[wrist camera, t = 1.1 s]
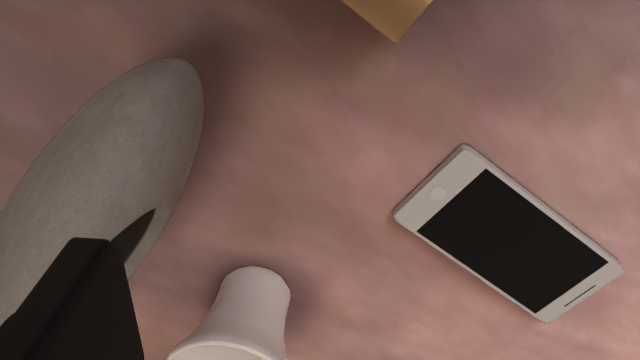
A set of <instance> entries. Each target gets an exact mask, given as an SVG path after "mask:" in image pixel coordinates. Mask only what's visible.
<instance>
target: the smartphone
mask: <svg viewBox="0 0 640 360" xmlns="http://www.w3.org/2000/svg"><path fill="white" fill-rule="evenodd" d="M394 218H395V220H396V221H397V222H398V223H399V224H401V225H402V226H404V227H405V228H407V229H408V230H410V231H411V232H413V233H414V234H415V235H417V236H418V237H420V238H421V239H423V240H424V241H426V242H427V243H428V244H430V245H431V246H433V247H434V248H436V249H437V250H439V251H440V252H441V253H443V254H444V255H446V256H447V257H449V258H450V259H452V260H453V261H455V262H456V263H457V264H459V265H460V266H462V267H463V268H465V269H466V270H468V271H469V272H470V273H472V274H473V275H475V276H476V277H478V278H479V279H481V280H482V281H484V282H485V283H486V284H488V285H489V286H491V287H492V288H494V289H495V290H497V291H498V292H499V293H501V294H502V295H504V296H505V297H507V298H508V299H510V300H511V301H513V302H514V303H515V304H517V305H518V306H520V307H521V308H523V309H524V310H526V311H527V312H528V313H530V314H531V315H533V316H534V317H536V318H537V319H539V320H540V321H542V322H544V323H551V322H552V321H553V320H555V319H556V318H558V317H559V316H561V315H562V314H564V313H565V312H567V311H568V310H570V309H571V308H573V307H574V306H576V305H577V304H578V303H580V302H581V301H583V300H584V299H586V298H587V297H589V296H590V295H592V294H593V293H595V292H596V291H598V290H599V289H601V288H602V287H604V286H605V285H606V284H608V283H609V282H611V281H612V280H614V279H615V278H617V277H618V276H620V275H621V274H623V272H624V270H623V268H622V267H621V265H620V263H619V261H618V260H617V259H616V258H614V257H613V256H612V255H610V254H609V253H608V252H607V251H605V250H604V249H603V248H601V247H600V246H599V245H597V244H596V243H595V242H594V241H592V240H591V239H590V238H588V237H587V236H586V235H584V234H583V233H582V232H581V231H579V230H578V229H577V228H575V227H574V226H573V225H571V224H570V223H569V222H568V221H566V220H565V219H564V218H562V217H561V216H560V215H558V214H557V213H556V212H555V211H553V210H552V209H551V208H549V207H548V206H547V205H545V204H544V203H543V202H542V201H540V200H539V199H538V198H536V197H535V196H534V195H532V194H531V193H530V192H529V191H527V190H526V189H525V188H523V187H522V186H521V185H520V184H518V183H517V182H516V181H514V180H513V179H512V178H510V177H509V176H508V175H507V174H505V173H504V172H503V171H501V170H500V169H499V168H497V167H496V166H495V165H494V164H492V163H491V162H490V161H488V160H487V159H486V158H484V157H483V156H482V155H481V154H479V153H478V152H477V151H475V150H474V149H473V148H471V147H470V146H468V145H460V146H459V147H458V148H457V149H456V150H455V151H454V152H453V153H452V154H451V155H450V156H449V157H448V158H447V159H446V160H445V161H444V162H443V163H442V164H441V165H439V166H438V167H437V168H436V169H435V170H434V171H433V172H432V173H431V174H430V175H429V176H428V177H427V178H426V179H425V180H424V181H423V182H422V183H421V184H420V185H419V186H417V187H416V188H415V189H414V190H413V191H412V192H411V193H410V194H409V195H408V196H407V197H406V198H405V199H404V200H403V201H402V202H401V203H400V204H399V205H398V206H397V207H395V208H394Z"/></svg>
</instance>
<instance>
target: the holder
mask: <svg viewBox="0 0 640 360" xmlns="http://www.w3.org/2000/svg"><path fill="white" fill-rule="evenodd" d="M341 1H342V2H343V3H344V4H346V5H347V6H348V7H349V8H351V9H352V10H353V11H354V12H356V13H357V14H358V15H359V16H361V17H362V18H363V19H364V20H366V21H367V22H368V23H369V24H371V25H372V26H373V27H374V28H376V29H377V30H378V31H379V32H381V33H382V34H383V35H384V36H385V37H387V38H388V39H389V40H390V41H392V42H393V43H394V44H396V43H397V42H398V41H399V39H400V38H401V37H402V36H403V35H404V34H405V32H406V31H407V30H408V29H409V28H410V27H411V26H412V24H413V23H414V22H415V21H416V20H417V19H418V17H419V16H420V15H421V14H422V13H423V12H424V11H425V9H426V8H427V7H428V5H430V4H431V2H432V1H433V0H341Z"/></svg>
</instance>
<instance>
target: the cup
mask: <svg viewBox="0 0 640 360" xmlns="http://www.w3.org/2000/svg"><path fill="white" fill-rule="evenodd" d="M290 297H291V294H290V289H289V288H288V286H287V285H286V283H285V281H284V280H283V278H282V277H281V276H280V275H278V274H276V273H275V272H273V271H272V270H269V269H265V268H262V267H257V266H248V267H243V268H238V269H236V270H234V271H233V272H231V273H230V274H228V275H227V276H226V277H225V278H224V280H223V282H222V284H221V286H220V289H219V292H218V295H217V298H216V300H215V302H214V304H213V305H212V307H211V309H210V311H209V313H208V315H207V316H206V317H205V318H204V319H203V320H202V322H201V323H200V324H199V326H198V327H197V328H196V329H195V331H194V332H193V333H192V334H191V335H190V336H189V337H187V338H186V339H185V340H183V341H182V342H181V343H179V344H178V345H176V346H175V347H174V348H173V349H172V350H171V351H170V353H169V354H168V355H167V356H166V358H165V360H287V359H286V352H285V344H284V326H285V319H286V314H287V310H288V306H289V303H290Z"/></svg>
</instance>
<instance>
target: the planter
mask: <svg viewBox="0 0 640 360" xmlns="http://www.w3.org/2000/svg"><path fill="white" fill-rule="evenodd" d="M203 119H204V95H203V89H202V85H201V81H200V78H199V76H198V74H197V72H196V70H195V69H194V67H193V66H192V65H191V64H190V63H188V62H187V61H185V60H182V59H178V58H162V59H157V60H153V61H150V62H147V63H145V64H142V65H140V66H138V67H136V68H134V69H132V70H130V71H128V72H126V73H125V74H123V75H121V76H120V77H118V78H117V79H115V80H114V81H112V82H111V83H110V84H108V85H107V86H106V87H104V88H103V89H102V90H101V91H99V92H98V93H97V94H96V95H94V96H93V97H92V98H91V99H90V100H89V101H88V102H87V103H86V104H85V105H83V106H82V107H81V108H80V109H79V110H78V111H77V112H76V113H75V114H74V115H73V116H72V117H71V118H70V119H69V120H68V122H67V123H66V124H65V125H64V126H63V127H62V128H61V129H60V130H59V131H58V133H57V134H56V135H55V136H54V137H53V138H52V139H51V141H50V142H49V143H48V144H47V145H46V147H45V148H44V149H43V150H42V152H41V153H40V154H39V156H38V157H37V158H36V159H35V161H34V162H33V164H32V165H31V166H30V168H29V169H28V170H27V172H26V173H25V175H24V176H23V178H22V179H21V181H20V182H19V184H18V185H17V187H16V188H15V190H14V191H13V193H12V194H11V196H10V198H9V199H8V201H7V202H6V204H5V206H4V207H3V209H2V210H1V212H0V326H1V325H2V324H3V322H4V321H5V320H6V319H7V318H8V317H9V316H10V315H12V314H14V313H15V312H16V310H17V309H18V308H19V306H20V305H21V304H22V302H23V301H24V300H25V298H26V297H27V296H28V294H29V293H30V292H31V290H32V289H33V288H34V286H35V285H36V284H37V282H38V281H39V280H40V278H41V277H42V276H43V274H44V273H45V272H46V270H47V269H48V268H49V266H50V265H51V264H52V262H53V261H54V260H55V258H56V257H57V256H58V254H59V253H60V252H61V250H62V249H63V248H64V246H65V245H66V244H67V242H68V241H69V240H70V239H71V238H74V237H82V238H97V239H107V240H109V241H110V242H111V244H112V247H113V248H117V249H119V250H120V251H121V253H122V257H123V262H124V266H125V271H126V275H127V280H129V279H130V277H131V276H132V275H133V274H134V272H135V271H136V270H137V269H138V267H139V266H140V265H141V263H142V262H143V261H144V259H145V258H146V256H147V255H148V254H149V252H150V251H151V249H152V248H153V246H154V245H155V243H156V242H157V240H158V239H159V237H160V235H161V234H162V232H163V230H164V228H165V227H166V225H167V223H168V221H169V219H170V217H171V215H172V213H173V211H174V209H175V207H176V205H177V203H178V200H179V198H180V196H181V194H182V191H183V189H184V186H185V184H186V181H187V179H188V176H189V173H190V170H191V168H192V165H193V162H194V158H195V155H196V152H197V149H198V145H199V141H200V137H201V132H202V127H203Z"/></svg>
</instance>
